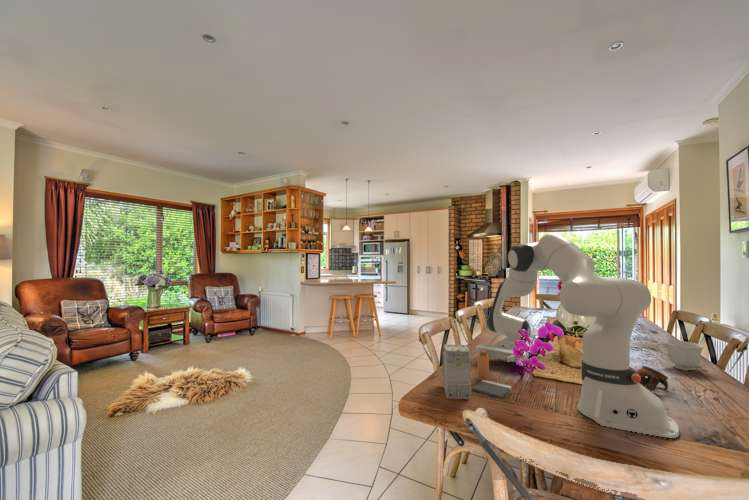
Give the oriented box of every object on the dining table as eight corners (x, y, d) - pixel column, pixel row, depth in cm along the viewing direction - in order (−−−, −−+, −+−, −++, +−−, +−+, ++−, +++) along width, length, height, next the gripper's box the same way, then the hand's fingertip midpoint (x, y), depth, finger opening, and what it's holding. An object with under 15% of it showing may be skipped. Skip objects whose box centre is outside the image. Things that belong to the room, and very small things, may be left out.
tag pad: (511, 388, 114) (511, 386, 114) (501, 397, 106) (501, 395, 106) (482, 381, 120) (482, 379, 120) (471, 390, 112) (471, 387, 112)
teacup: (651, 361, 145) (651, 338, 145) (697, 366, 138) (696, 342, 138) (661, 369, 134) (660, 344, 134) (710, 375, 127) (710, 349, 127)
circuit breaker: (463, 382, 120) (463, 340, 120) (470, 398, 105) (470, 351, 106) (442, 381, 120) (442, 340, 121) (446, 397, 106) (446, 350, 107)
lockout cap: (490, 378, 123) (490, 351, 124) (486, 381, 120) (486, 353, 121) (480, 376, 126) (480, 349, 126) (476, 379, 123) (475, 351, 123)
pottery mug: (625, 382, 121) (635, 363, 121) (655, 399, 116) (666, 378, 117) (636, 385, 110) (647, 363, 111) (669, 403, 106) (681, 381, 106)
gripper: (482, 339, 150) (469, 345, 139) (530, 346, 137) (521, 354, 126) (482, 353, 150) (469, 360, 139) (530, 362, 137) (521, 370, 126)
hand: (494, 357), depth 133 cm, fingers open, 8 cm apart
